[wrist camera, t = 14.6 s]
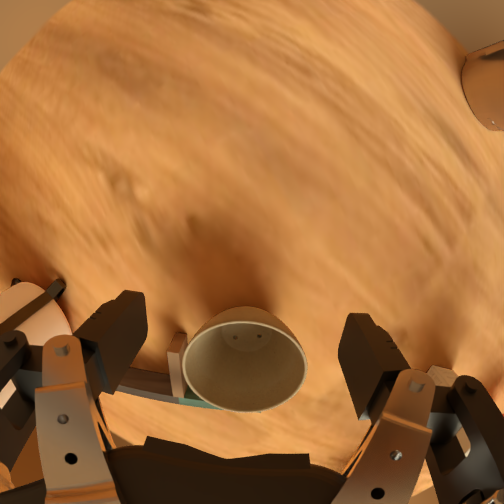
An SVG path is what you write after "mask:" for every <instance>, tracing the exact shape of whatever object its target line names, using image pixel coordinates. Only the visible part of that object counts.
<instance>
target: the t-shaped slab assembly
mask: <svg viewBox="0 0 504 504" xmlns="http://www.w3.org/2000/svg"><path fill="white" fill-rule="evenodd" d="M187 346H188V344H187V334H183V333H176V334H175V336H174V338H173V340H172V342H171V344H170V346H169V348H168V350H167V357H168V365H169V372H170V375H167V374H162V373H156V372H151V371H145V370H141V369H136V368H131V367H129V368H128V370H127V372H126V374H125V375H124V377H123V379H122V380H121V382H120V384H119V386H118V387H117V389H116V391H120V392H123V393H127V394H131V395H136V396H140V397H144V398H149V399H154V400H159V401H164V402H169V403H175V404H181V405H187V406H194V407H202V408H210V409H219V410H223V409H220V408H218V407H215V406H213V405H211V404H209V403H207V402H206V401H204V400H203V399H201V398H200V397H199V396H198V395H196V394H195V393H194V392H193V390H192V389H191V388H190V387H189V385H188V383H187V382H186V379H185V377H184V374H183V369H182V359H183V355H184V352H185V350H186V348H187ZM259 413H261V412H259Z"/></svg>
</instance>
